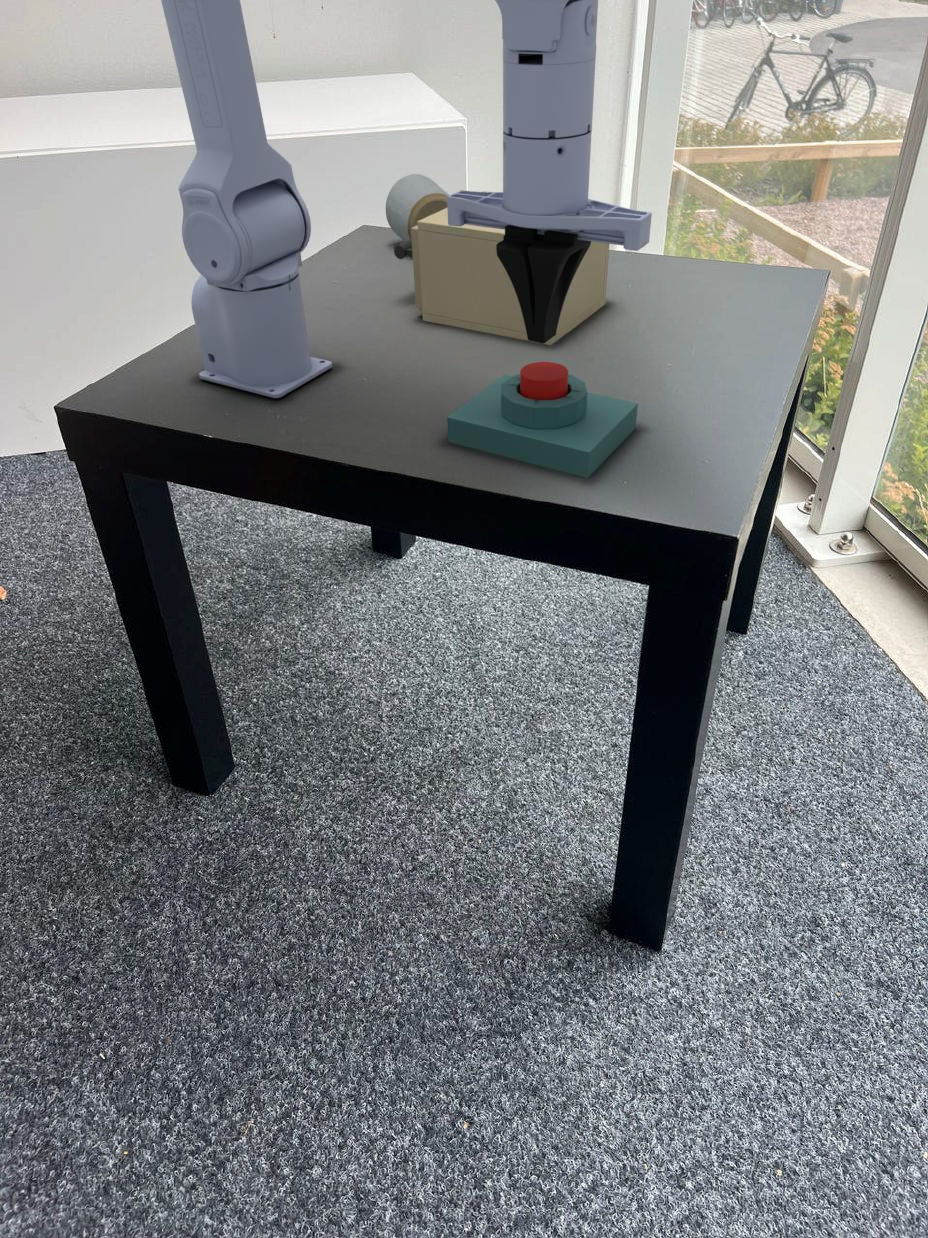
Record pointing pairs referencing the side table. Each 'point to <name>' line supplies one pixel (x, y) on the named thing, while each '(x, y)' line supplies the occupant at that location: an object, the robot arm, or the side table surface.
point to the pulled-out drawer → (412, 249)
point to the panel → (544, 426)
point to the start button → (544, 381)
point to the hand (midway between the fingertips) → (541, 337)
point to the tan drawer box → (493, 281)
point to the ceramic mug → (413, 203)
